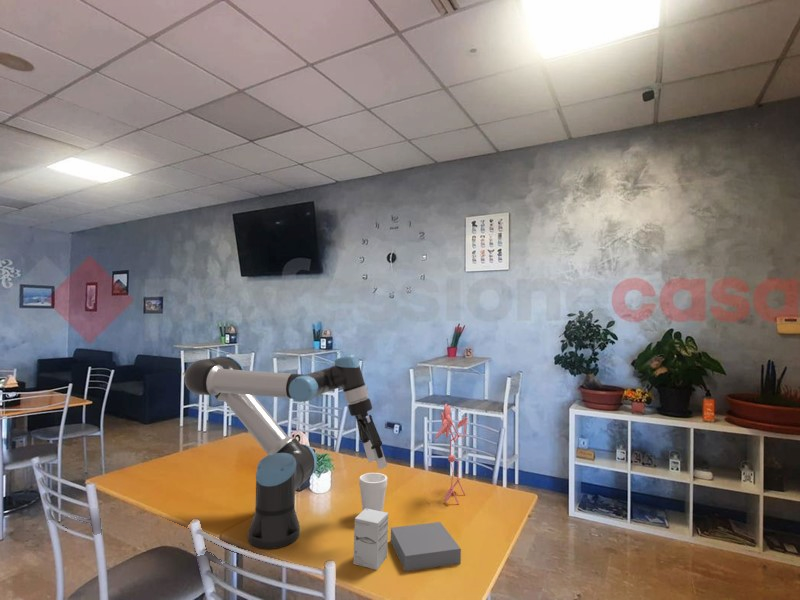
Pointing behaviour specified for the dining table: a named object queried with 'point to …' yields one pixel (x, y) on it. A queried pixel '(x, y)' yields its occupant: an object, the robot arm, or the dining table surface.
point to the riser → (425, 546)
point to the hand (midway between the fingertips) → (377, 464)
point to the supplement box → (370, 538)
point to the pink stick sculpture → (445, 428)
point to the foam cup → (373, 490)
